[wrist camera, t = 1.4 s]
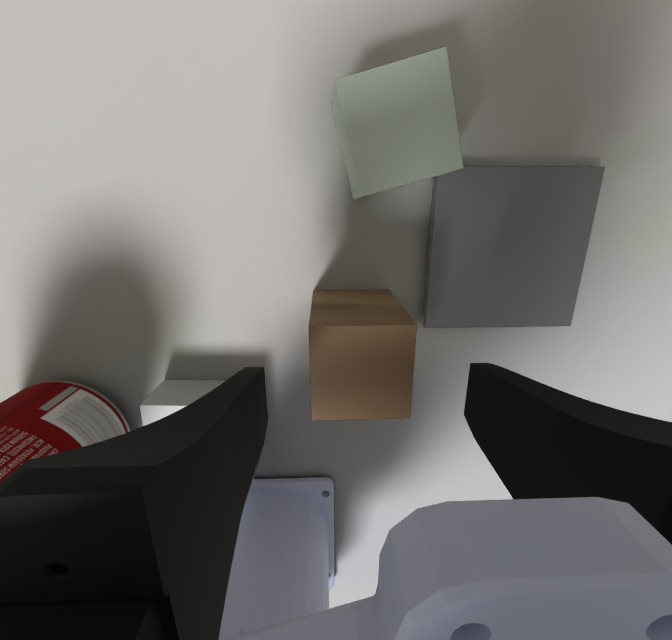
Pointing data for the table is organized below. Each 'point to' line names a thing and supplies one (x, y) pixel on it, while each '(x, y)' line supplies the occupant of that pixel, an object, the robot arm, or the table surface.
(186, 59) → the table surface
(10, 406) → the soda can
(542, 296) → the slate coaster
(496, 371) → the robot arm
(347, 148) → the sage block
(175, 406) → the grey plastic box
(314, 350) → the walnut block
